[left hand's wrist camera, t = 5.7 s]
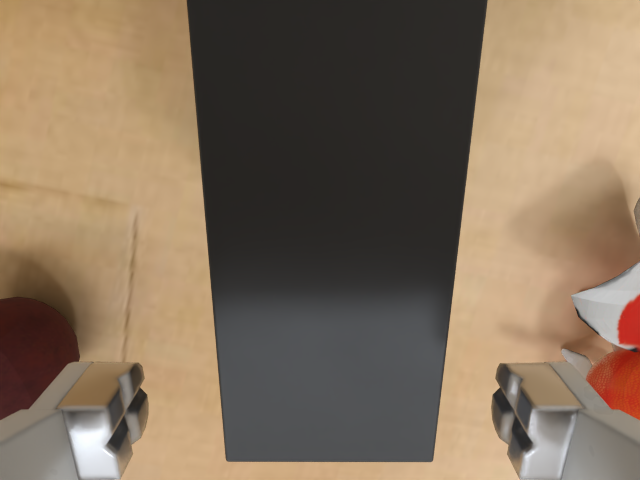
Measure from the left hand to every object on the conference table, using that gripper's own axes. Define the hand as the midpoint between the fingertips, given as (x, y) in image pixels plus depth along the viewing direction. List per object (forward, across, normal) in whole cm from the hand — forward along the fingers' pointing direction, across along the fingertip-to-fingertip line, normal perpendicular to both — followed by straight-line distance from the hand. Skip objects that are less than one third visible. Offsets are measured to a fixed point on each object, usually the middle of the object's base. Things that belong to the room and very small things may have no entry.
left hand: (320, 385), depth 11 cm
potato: (+18, +18, +10) cm, 28 cm away
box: (+10, 0, -8) cm, 13 cm away
